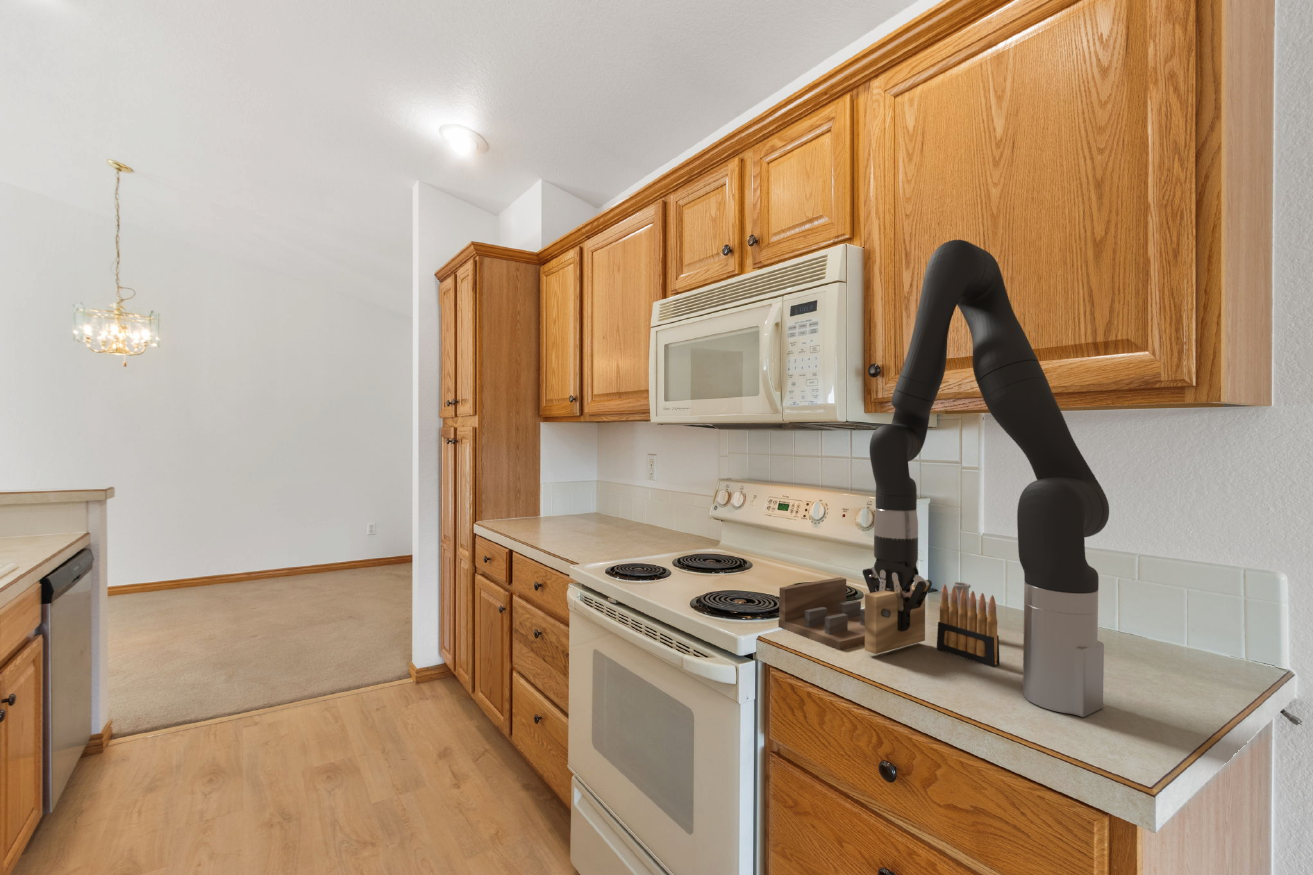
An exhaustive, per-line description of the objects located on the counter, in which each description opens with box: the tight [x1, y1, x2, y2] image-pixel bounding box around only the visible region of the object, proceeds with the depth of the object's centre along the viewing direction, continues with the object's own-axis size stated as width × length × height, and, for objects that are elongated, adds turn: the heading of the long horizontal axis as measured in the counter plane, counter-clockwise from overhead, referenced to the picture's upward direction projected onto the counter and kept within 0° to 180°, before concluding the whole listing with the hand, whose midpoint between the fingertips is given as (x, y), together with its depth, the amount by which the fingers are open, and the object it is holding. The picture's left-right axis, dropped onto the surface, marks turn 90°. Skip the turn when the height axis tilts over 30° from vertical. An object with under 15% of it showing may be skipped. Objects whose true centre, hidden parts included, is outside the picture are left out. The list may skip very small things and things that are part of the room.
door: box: [864, 584, 926, 655], centre depth 114 cm, size 3×14×10 cm, turn 122°
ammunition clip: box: [936, 584, 1001, 668], centre depth 111 cm, size 11×2×12 cm, turn 33°
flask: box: [952, 581, 972, 611], centre depth 124 cm, size 7×7×10 cm
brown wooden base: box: [777, 576, 865, 651], centre depth 126 cm, size 16×18×8 cm
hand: (895, 627), depth 114 cm, fingers closed on door, 2 cm apart
